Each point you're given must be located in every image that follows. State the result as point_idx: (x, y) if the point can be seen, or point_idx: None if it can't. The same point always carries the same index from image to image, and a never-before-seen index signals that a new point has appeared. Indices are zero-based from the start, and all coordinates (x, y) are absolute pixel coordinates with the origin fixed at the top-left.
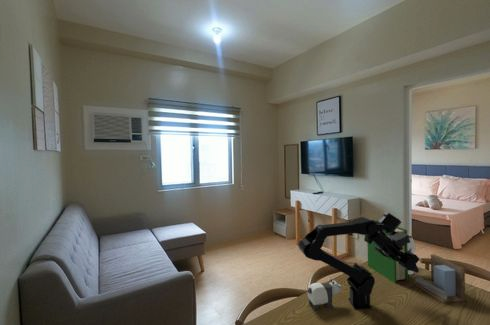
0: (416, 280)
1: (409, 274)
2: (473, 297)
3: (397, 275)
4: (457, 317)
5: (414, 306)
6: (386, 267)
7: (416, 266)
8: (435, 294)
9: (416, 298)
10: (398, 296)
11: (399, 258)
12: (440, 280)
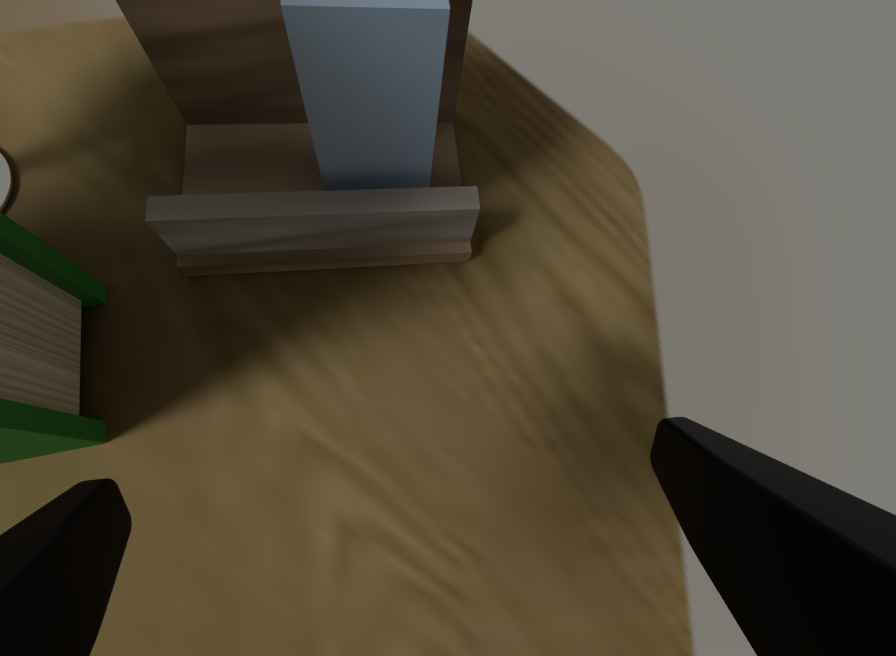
0: (176, 245)
1: (7, 202)
2: None
3: (41, 380)
4: (626, 294)
5: (507, 508)
6: None
7: (888, 527)
8: (393, 244)
9: (396, 410)
10: (348, 560)
11: (53, 555)
12: (393, 123)
